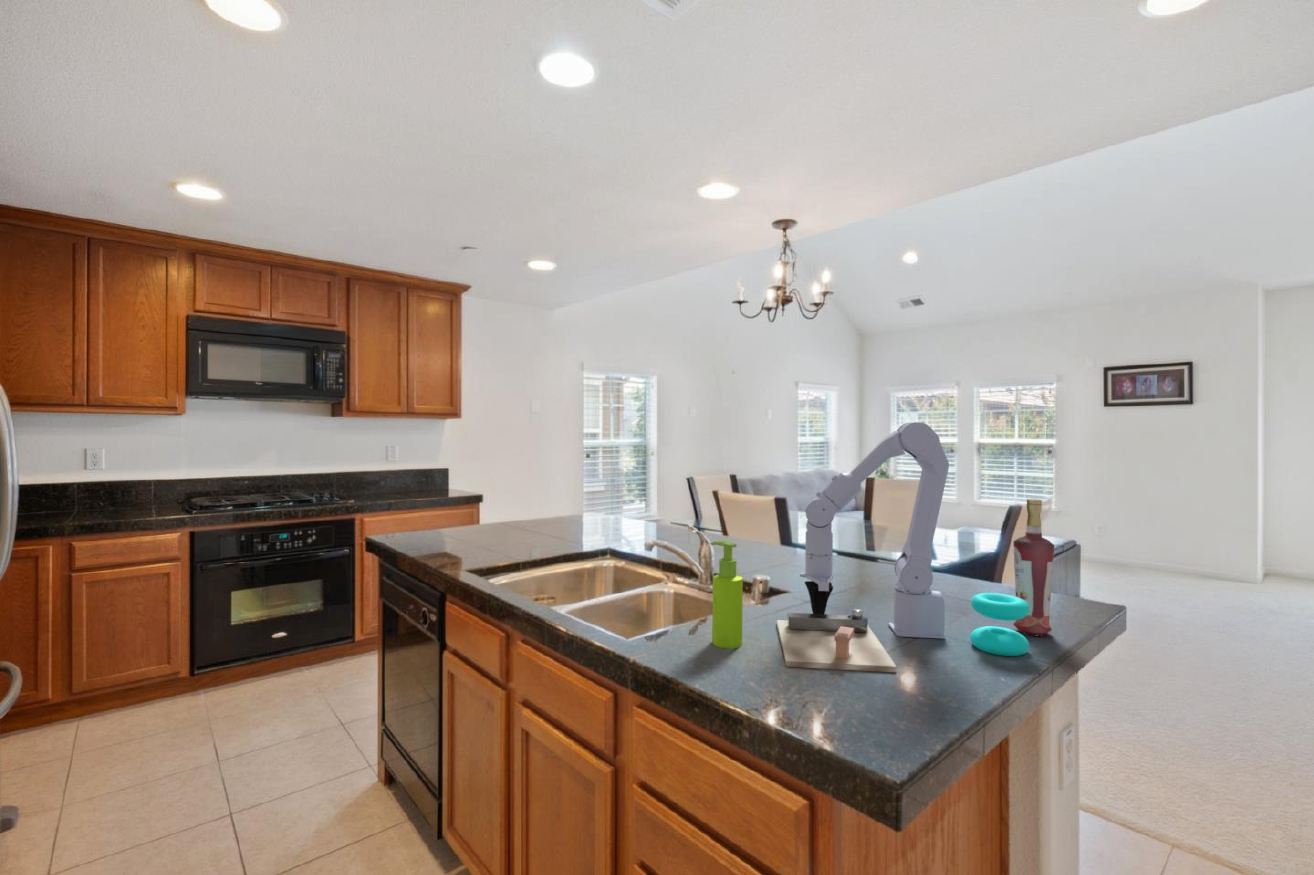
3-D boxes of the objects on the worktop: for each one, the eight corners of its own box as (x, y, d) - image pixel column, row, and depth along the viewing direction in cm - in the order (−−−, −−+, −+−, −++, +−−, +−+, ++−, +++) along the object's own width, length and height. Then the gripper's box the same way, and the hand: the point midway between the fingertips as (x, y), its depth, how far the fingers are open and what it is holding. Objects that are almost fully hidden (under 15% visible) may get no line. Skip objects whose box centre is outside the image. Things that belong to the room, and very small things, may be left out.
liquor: (1059, 639, 126) (1061, 502, 125) (1019, 637, 127) (1021, 501, 127) (1044, 628, 133) (1046, 498, 132) (1007, 626, 134) (1008, 497, 134)
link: (865, 627, 129) (865, 608, 129) (869, 633, 125) (869, 613, 125) (787, 623, 131) (787, 604, 131) (789, 629, 127) (789, 610, 127)
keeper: (840, 647, 118) (840, 626, 118) (854, 649, 117) (854, 628, 117) (834, 657, 113) (834, 635, 112) (848, 659, 111) (848, 637, 111)
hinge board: (867, 628, 132) (867, 623, 132) (896, 672, 108) (896, 666, 108) (776, 624, 134) (776, 619, 134) (786, 666, 111) (786, 660, 111)
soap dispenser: (721, 634, 127) (721, 538, 127) (748, 643, 123) (748, 542, 122) (702, 641, 123) (703, 541, 123) (729, 650, 118) (730, 546, 118)
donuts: (1034, 607, 114) (973, 601, 118) (1033, 661, 114) (972, 653, 118) (1025, 594, 123) (968, 589, 127) (1024, 644, 123) (968, 637, 127)
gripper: (796, 546, 142) (795, 605, 142) (804, 560, 128) (803, 625, 128) (827, 547, 141) (827, 606, 141) (839, 561, 127) (838, 626, 127)
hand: (818, 615), depth 135 cm, fingers closed
